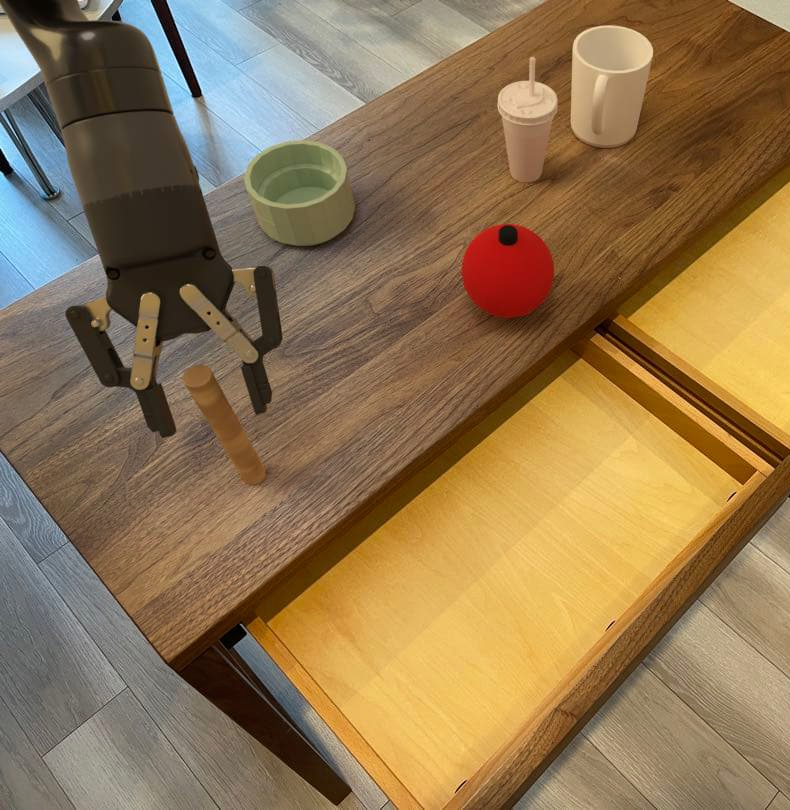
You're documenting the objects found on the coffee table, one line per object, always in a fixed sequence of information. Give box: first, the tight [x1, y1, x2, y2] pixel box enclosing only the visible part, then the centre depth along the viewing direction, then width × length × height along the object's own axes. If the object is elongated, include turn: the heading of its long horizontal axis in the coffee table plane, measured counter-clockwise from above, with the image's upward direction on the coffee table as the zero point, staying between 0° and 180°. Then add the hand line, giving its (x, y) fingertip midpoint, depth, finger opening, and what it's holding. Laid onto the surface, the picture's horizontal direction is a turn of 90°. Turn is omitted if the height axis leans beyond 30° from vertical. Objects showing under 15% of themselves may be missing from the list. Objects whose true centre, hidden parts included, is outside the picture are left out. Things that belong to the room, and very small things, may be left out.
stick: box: [182, 363, 267, 486], centre depth 61 cm, size 2×2×15 cm
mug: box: [570, 24, 654, 149], centre depth 90 cm, size 11×9×10 cm
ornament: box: [461, 223, 555, 319], centre depth 75 cm, size 9×9×10 cm
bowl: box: [243, 139, 356, 247], centre depth 82 cm, size 10×10×6 cm
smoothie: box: [496, 56, 559, 183], centre depth 84 cm, size 6×6×14 cm
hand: (216, 422), depth 57 cm, fingers open, 6 cm apart
